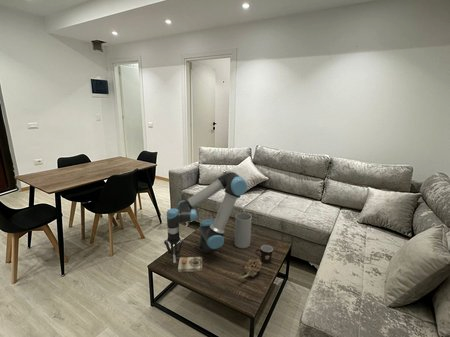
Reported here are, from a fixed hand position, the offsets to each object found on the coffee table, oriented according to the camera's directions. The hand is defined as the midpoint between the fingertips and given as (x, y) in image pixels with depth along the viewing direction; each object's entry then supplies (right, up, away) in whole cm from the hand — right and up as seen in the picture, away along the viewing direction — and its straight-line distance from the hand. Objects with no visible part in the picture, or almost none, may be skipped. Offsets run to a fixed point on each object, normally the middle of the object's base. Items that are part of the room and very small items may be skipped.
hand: (174, 261), depth 166 cm
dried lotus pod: (+51, -7, -7) cm, 52 cm away
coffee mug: (+63, -3, +10) cm, 64 cm away
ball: (+7, +1, 0) cm, 7 cm away
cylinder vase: (+49, +3, +28) cm, 56 cm away
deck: (+11, -4, +2) cm, 11 cm away
